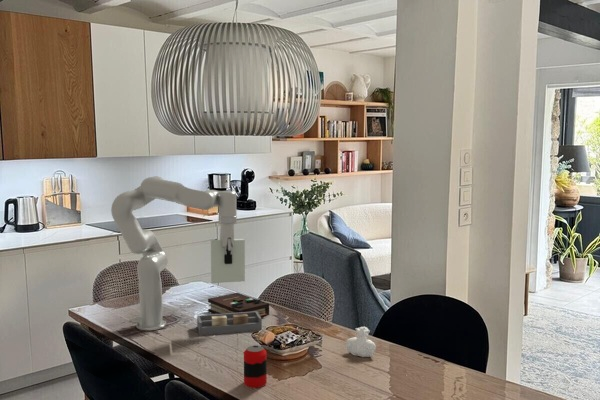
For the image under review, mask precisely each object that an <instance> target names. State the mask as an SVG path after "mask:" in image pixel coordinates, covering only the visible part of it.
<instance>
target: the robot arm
mask: <svg viewBox="0 0 600 400" xmlns="http://www.w3.org/2000/svg"><path fill="white" fill-rule="evenodd" d="M155 200H161V201H166V202H171V203H175V204H178V205H182V206H185V207H188V208H193V209H199V210H206V211H207V210H211V209H213V208H215V207H217V208H218V225H220V229H219V231H220V232H219V233H220V234H219V240H221V246H222V248H224V247H225V255H224V263H225V264H232V248H233V247H234V239H235V225H236V224H237V221H238V220H237V219H238V218H237V217H238V216H237V193H236V191H234V190H216V189H208V190H204V191H203V190H198V189H193V188H189V187H186V186H184V184H182V183H180V182H178V181H177V182H176V181H172V180H168V179H167V180H166V179H164V178H163V177H160V176H151V177H150V176H149V177H145V178H144V179H143V180H142V182H141V183H140V185H139V186H138V187H137V188H135V189H133V190H130V191H129V190H128V191H124V192H122V193H119V195H117V196H116V197H115V198H114V199H113V201H112V204H111V208H110V212H111V217H112V219H113V221H114V223H115V224H116V226H117V228H118V230H119V232H120V234H121V236H122V238H123V240H124V241H125V244H126V245H127V247H128V249H129V251H130V252H131V253H133V254H134V255H142V257H141V258H140V259H139V260H138V263H137V265H136V271H137V280H138V293H139V314H138V316H136V317H129V318H128V322H129V323H131V324H132V325H133V324H136V325H135V326H136V329H138V330H141V331H157V330H161V329H164V328H165V327H166V326H167V322H166V320H164V319H163V285H162V278H161V272H162V271H163V270H165V269H166V267H167V266H168V262H169V261H168V256H167V254H166V252H165V250H164V249H163V246H162V244H161V243H160V241H159V239H158V237H157V236H156V234H155V233H154V232H153V231H152V230H149V229H143V228H142V227H141V225H140V222H139V221H138V219H137V218H136V217H135V215H134V214H133V211H136V210H138V209H139V210H140V209H142V208H143V207H145V206H147V205H148V204H149V203H152V201H155ZM232 244H233V245H232ZM226 246H228V247H226Z"/></svg>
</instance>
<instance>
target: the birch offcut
mask: <svg viewBox="0 0 600 400" xmlns="http://www.w3.org/2000/svg"><path fill="white" fill-rule="evenodd" d="M220 325H227V317H226V316H212V326H220Z"/></svg>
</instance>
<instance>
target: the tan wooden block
mask: <svg viewBox="0 0 600 400" xmlns="http://www.w3.org/2000/svg"><path fill="white" fill-rule="evenodd" d="M245 323H248V315H247V314H239V315H233V324H245Z"/></svg>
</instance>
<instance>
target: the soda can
mask: <svg viewBox="0 0 600 400" xmlns="http://www.w3.org/2000/svg"><path fill="white" fill-rule="evenodd" d="M267 359H268V356H267V350H266V349H265V348H264V347H263V346H262V345H250V346H247V347H246V348H245V350H244V352H243V384H244V386H246V387H248V388H250V387H251V388H252V389H257V388H262V387H264V386H266V384H267V383H268V382H267V381H268V377H267V376H268V375H267V373H268V371H267V369H268V368H267V365H268V363H267V362H268V361H267ZM251 388H250V389H251Z"/></svg>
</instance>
